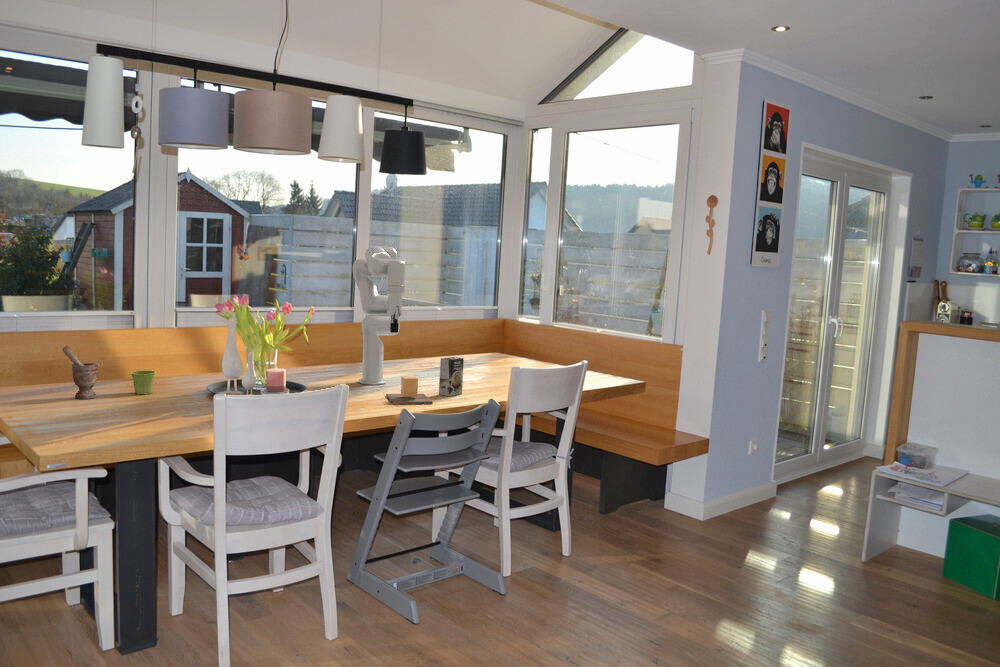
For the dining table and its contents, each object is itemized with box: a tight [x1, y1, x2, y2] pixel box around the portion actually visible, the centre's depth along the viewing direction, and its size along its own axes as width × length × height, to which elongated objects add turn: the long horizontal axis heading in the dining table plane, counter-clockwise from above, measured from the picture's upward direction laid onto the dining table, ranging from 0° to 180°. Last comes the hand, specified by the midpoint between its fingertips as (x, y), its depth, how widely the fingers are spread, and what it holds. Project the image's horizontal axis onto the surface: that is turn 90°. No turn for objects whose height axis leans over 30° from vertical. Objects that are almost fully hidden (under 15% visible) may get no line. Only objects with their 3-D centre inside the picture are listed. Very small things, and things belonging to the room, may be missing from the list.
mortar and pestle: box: [62, 345, 98, 400], centre depth 294 cm, size 12×9×20 cm
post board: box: [385, 393, 433, 406], centre depth 321 cm, size 18×16×9 cm
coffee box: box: [438, 356, 465, 397], centre depth 338 cm, size 9×6×16 cm
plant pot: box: [130, 370, 157, 395], centre depth 308 cm, size 9×9×9 cm
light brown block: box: [400, 375, 419, 397], centre depth 321 cm, size 6×6×8 cm
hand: (394, 332), depth 328 cm, fingers closed
